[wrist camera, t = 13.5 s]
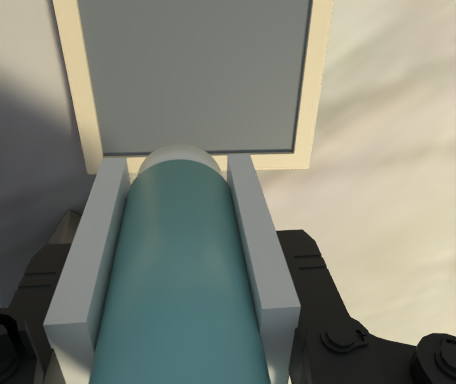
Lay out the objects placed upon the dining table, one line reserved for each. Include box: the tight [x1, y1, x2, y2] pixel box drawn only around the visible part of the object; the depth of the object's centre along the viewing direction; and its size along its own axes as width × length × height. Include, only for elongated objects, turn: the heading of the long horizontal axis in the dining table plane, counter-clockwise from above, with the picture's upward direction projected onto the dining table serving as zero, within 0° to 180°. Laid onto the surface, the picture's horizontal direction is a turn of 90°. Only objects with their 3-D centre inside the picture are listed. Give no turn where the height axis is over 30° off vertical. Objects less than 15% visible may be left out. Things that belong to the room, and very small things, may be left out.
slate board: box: [53, 0, 334, 174], centre depth 22 cm, size 15×19×1 cm
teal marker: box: [88, 144, 271, 384], centre depth 8 cm, size 4×4×13 cm
